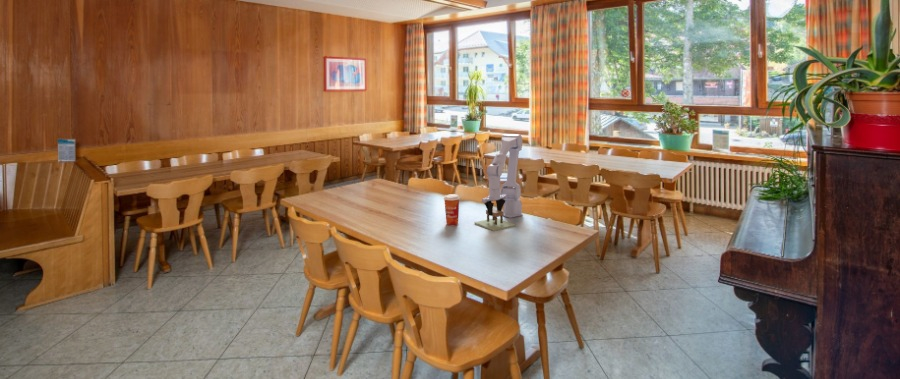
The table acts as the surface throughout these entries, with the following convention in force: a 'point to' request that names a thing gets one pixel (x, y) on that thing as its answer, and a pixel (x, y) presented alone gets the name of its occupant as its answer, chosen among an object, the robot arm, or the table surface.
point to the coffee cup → (452, 209)
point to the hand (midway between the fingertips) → (494, 214)
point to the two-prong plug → (496, 215)
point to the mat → (492, 226)
